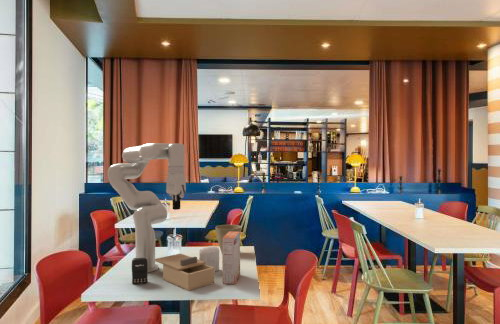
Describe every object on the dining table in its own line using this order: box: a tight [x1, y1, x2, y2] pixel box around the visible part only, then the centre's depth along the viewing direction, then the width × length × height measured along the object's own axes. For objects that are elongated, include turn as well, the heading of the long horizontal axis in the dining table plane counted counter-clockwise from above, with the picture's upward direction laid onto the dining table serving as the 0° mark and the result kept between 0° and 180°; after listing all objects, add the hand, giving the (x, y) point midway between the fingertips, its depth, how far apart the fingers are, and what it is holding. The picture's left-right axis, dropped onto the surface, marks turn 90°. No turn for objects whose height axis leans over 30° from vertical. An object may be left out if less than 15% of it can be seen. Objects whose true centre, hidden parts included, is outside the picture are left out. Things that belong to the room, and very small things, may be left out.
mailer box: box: [162, 264, 215, 292], centre depth 166 cm, size 20×14×7 cm
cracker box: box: [221, 231, 241, 285], centre depth 169 cm, size 14×6×21 cm, turn 171°
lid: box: [154, 253, 206, 270], centre depth 171 cm, size 21×15×3 cm
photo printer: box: [198, 245, 220, 272], centre depth 181 cm, size 10×4×12 cm, turn 123°
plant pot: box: [214, 224, 242, 253], centre depth 214 cm, size 15×15×16 cm
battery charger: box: [131, 256, 149, 285], centre depth 164 cm, size 7×4×11 cm, turn 103°
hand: (176, 209), depth 171 cm, fingers closed
